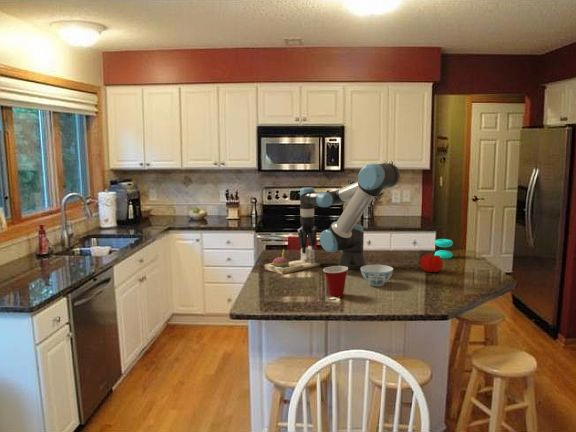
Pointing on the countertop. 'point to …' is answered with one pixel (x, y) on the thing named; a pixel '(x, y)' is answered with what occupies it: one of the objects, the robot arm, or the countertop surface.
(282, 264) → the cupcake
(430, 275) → the countertop surface
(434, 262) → the tomato
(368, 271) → the chinaware
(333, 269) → the plastic cup
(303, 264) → the wooden tray
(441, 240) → the pair of cyan discs
